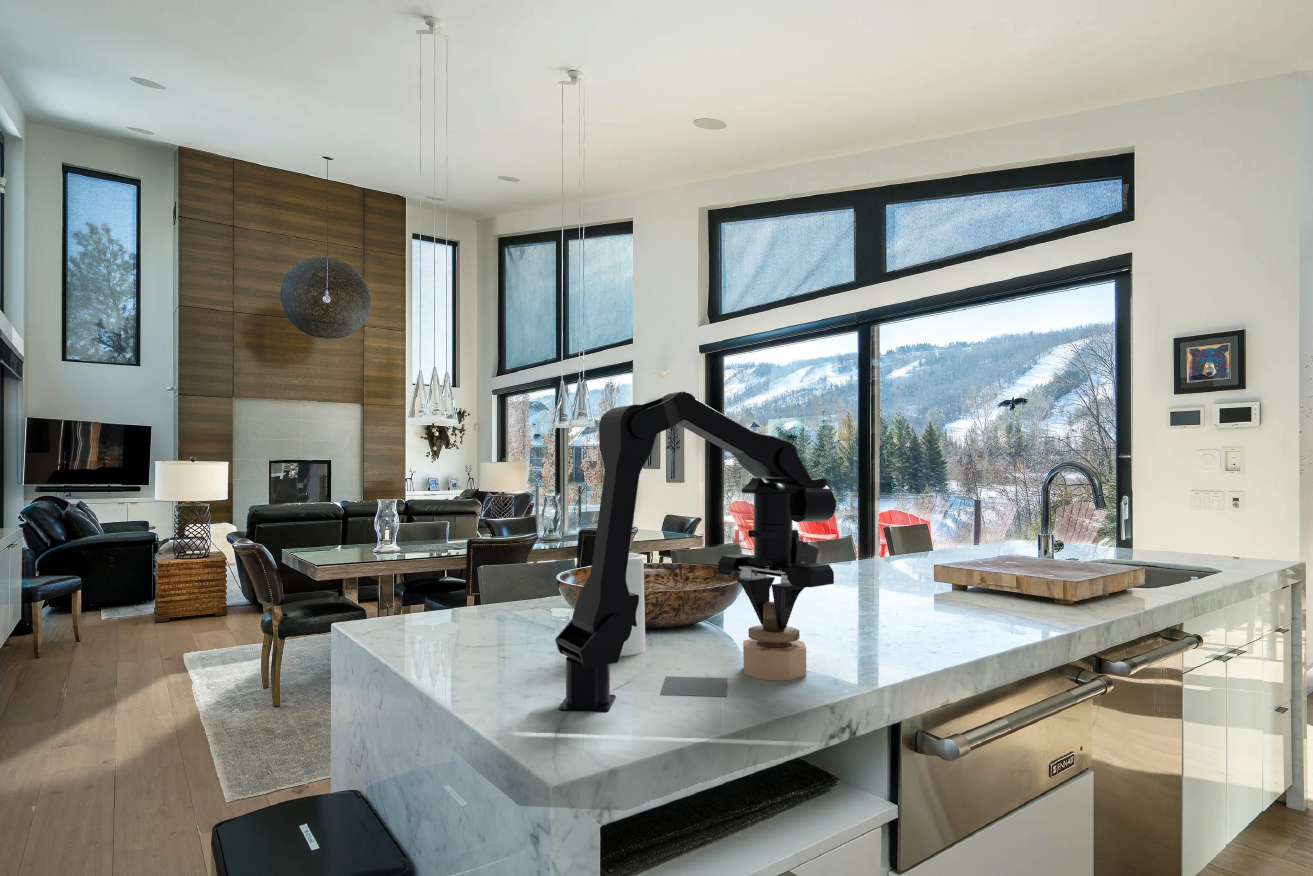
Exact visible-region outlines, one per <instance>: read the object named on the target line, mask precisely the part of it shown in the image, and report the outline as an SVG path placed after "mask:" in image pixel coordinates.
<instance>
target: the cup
mask: <svg viewBox="0 0 1313 876" xmlns="http://www.w3.org/2000/svg"><path fill="white" fill-rule="evenodd" d="M644 571H645V570H644V554H640V553H630V552H629V557H628V565H627V572H626V583H627V586H628V590H629V592H631V593H634V594H637V595H639V603H638V607H637V611H636V623H637V626H636V627H634V626H632V631H631V634H630V637H629V639H628V640H627V641H625V642H624V644H623V647H622V651H621V654H620V657H623V656H635V655H640V654H642V653H644V652H645V651H646V623H645V622H646V615H645V614H646V613H645V612H646V611H645V576H644V575H645V574H644V573H645V572H644Z"/></svg>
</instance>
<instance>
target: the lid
mask: <svg viewBox="0 0 1313 876" xmlns="http://www.w3.org/2000/svg"><path fill="white" fill-rule="evenodd" d="M748 638H750V639H753V640H757V641H762V642H772V643H784V642H792V641H796V640H798V641H799V639H800V630H799V629H798V628H796V627H792V626H789V625H787V626H786V628H785V629H782V630H781V629H779V626H778V622H777V617H776V611H775V604H774V601H769V602H764V603H763V625H761V624H759V625H756V626H755V625H754V626H750V627H749V628H748Z"/></svg>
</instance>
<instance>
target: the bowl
mask: <svg viewBox="0 0 1313 876" xmlns="http://www.w3.org/2000/svg"><path fill="white" fill-rule="evenodd" d="M742 642H743V643H742V646H743V647H742V651H743V652H742V653H743V658H742V659H743V664H742V665H743V667H742V668H743V675H746V676H750V677H752V678H756V679H760V680H763V681H765V680H766V681H767V680H769V681H791V680H797V679H799V678H803V677H806V676H807V646H806V644H805V642H804V641H801V640H799V639H798V640H796V641H792V642H784V643H772V642H762V641H757V640H753V639H751V638H750V639H745V640H742Z"/></svg>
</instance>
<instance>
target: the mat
mask: <svg viewBox="0 0 1313 876" xmlns="http://www.w3.org/2000/svg"><path fill="white" fill-rule="evenodd" d="M659 696H670V697H671V696H672V697H673V696H675V697H676V696H677V697H707V698H709V697H712V698H713V697H714V698H727V697H728V677H705V676H704V677H703V676H702V677H701V676H667V675H665V678H664V680H663V684H662V688H661V690H660V693H659Z"/></svg>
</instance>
